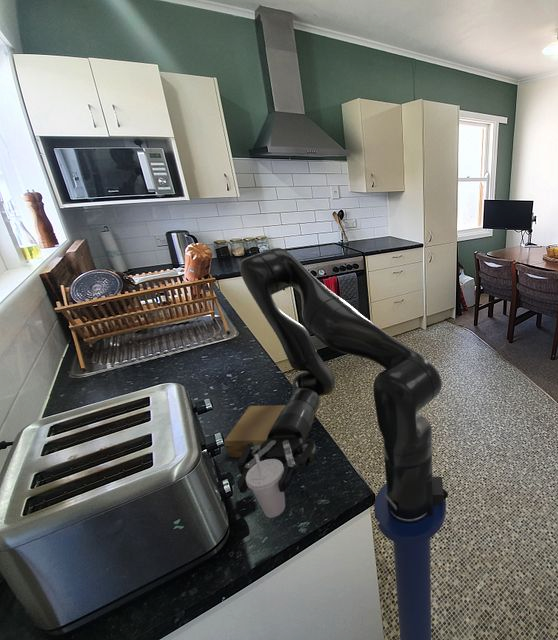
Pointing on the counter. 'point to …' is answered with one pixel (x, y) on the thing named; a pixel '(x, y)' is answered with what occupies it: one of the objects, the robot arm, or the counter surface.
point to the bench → (252, 428)
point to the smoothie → (267, 485)
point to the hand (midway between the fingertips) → (261, 488)
